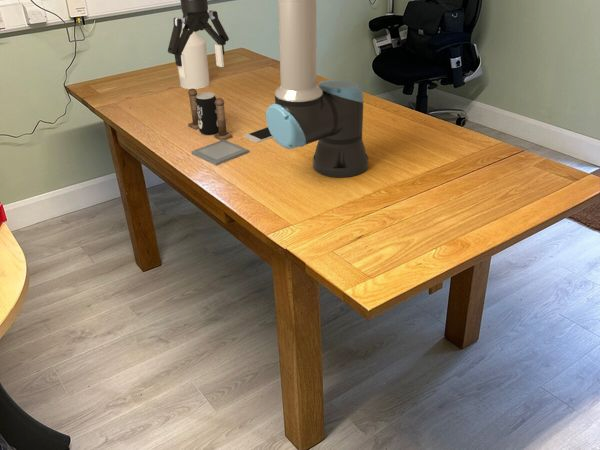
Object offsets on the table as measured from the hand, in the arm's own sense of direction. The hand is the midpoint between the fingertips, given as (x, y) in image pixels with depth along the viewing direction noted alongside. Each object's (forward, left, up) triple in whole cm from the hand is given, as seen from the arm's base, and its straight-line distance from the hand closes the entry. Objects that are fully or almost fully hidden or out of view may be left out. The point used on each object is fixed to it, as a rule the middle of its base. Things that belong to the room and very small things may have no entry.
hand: (202, 71), depth 176 cm
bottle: (+45, -26, -20) cm, 55 cm away
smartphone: (-15, -12, -20) cm, 28 cm away
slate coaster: (-16, +8, -19) cm, 26 cm away
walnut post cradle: (0, 0, -19) cm, 19 cm away
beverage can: (0, 0, -20) cm, 20 cm away
